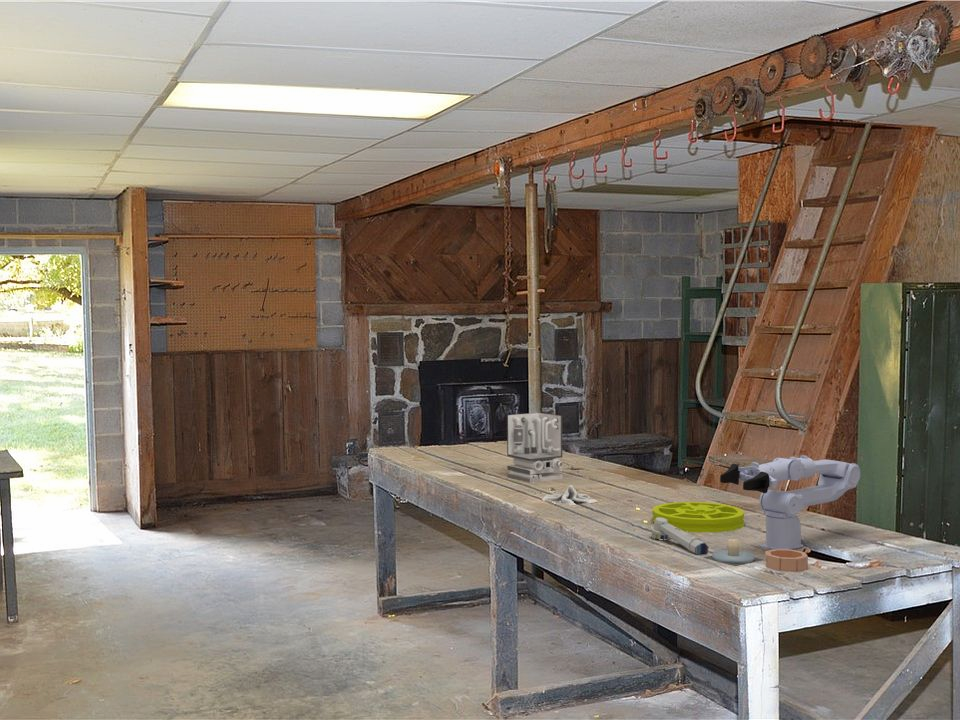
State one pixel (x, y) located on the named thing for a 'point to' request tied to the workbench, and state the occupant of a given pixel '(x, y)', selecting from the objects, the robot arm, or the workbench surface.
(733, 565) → the mat
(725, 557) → the lid
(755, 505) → the workbench surface
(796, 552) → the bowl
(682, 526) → the pulley
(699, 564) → the workbench surface
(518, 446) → the electrical transformer
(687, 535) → the grey flashlight
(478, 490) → the workbench surface
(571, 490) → the cloth
